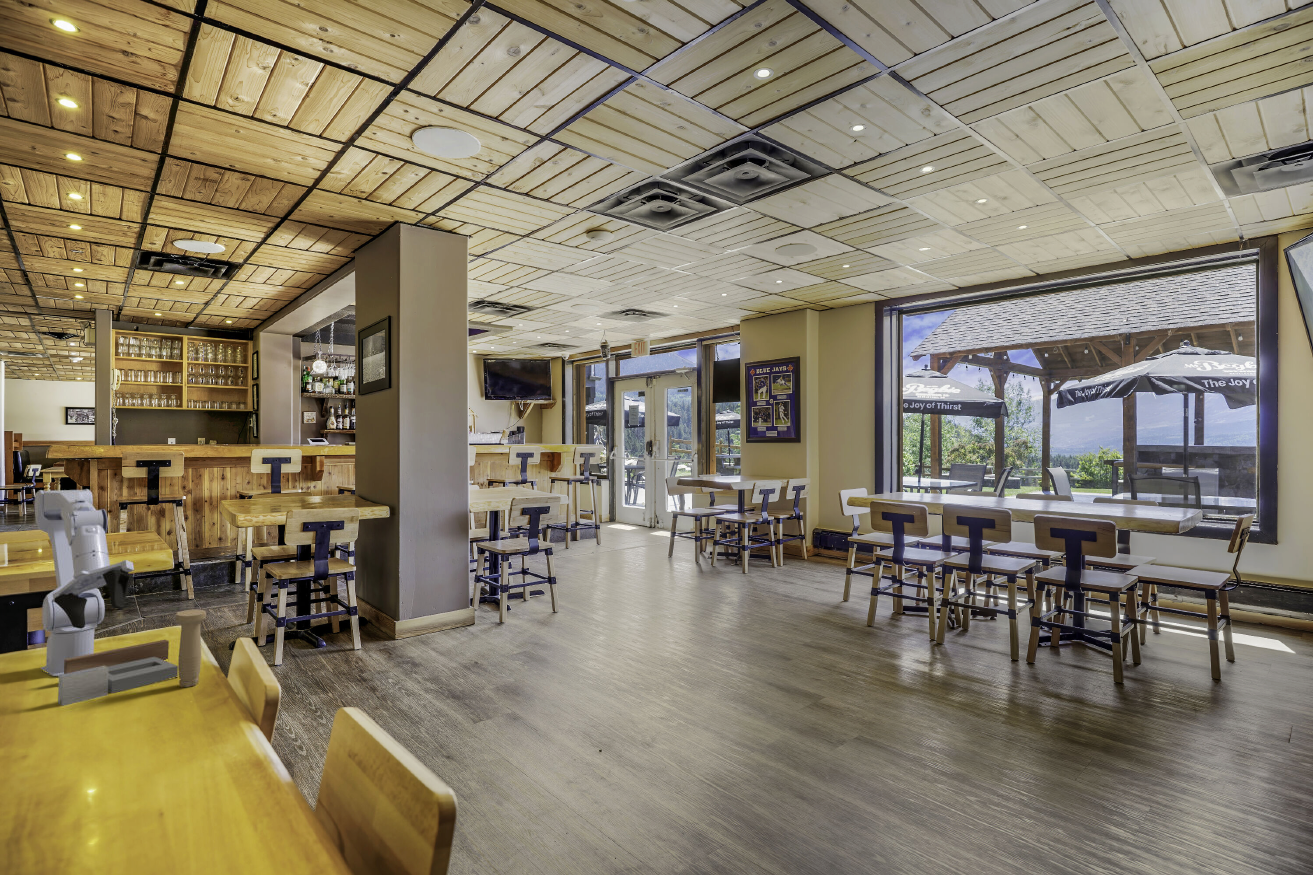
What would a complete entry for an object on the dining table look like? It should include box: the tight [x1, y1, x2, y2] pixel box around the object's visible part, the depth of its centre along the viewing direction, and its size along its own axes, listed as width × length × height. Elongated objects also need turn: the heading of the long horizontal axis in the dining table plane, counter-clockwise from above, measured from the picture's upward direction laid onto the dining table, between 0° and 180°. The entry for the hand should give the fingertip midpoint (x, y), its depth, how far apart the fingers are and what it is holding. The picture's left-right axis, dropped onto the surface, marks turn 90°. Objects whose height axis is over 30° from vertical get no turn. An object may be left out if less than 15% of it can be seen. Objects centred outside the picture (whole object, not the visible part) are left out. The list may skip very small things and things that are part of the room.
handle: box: [175, 609, 207, 688], centre depth 137 cm, size 5×6×15 cm
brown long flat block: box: [64, 639, 170, 674], centre depth 144 cm, size 2×18×5 cm, turn 147°
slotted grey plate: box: [108, 657, 179, 694], centre depth 140 cm, size 12×11×2 cm
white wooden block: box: [57, 666, 109, 707], centre depth 129 cm, size 2×7×6 cm, turn 147°
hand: (98, 617), depth 131 cm, fingers open, 7 cm apart
